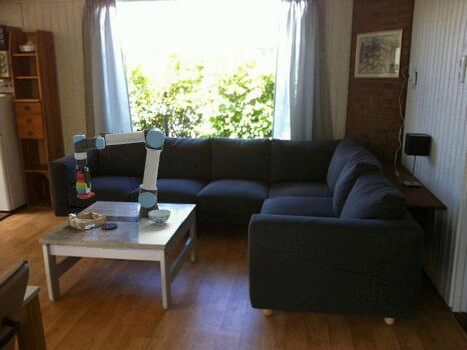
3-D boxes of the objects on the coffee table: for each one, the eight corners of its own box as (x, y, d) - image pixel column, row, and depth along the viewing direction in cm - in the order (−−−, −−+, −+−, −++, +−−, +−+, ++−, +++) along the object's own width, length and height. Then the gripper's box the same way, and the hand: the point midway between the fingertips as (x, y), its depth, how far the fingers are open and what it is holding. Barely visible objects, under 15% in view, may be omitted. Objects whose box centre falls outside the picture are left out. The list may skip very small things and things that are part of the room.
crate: (106, 223, 285) (106, 216, 284) (82, 231, 272) (81, 223, 271) (91, 218, 297) (91, 211, 296) (68, 225, 283) (67, 217, 282)
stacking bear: (87, 199, 274) (84, 172, 270) (73, 198, 276) (70, 172, 272) (95, 194, 284) (93, 169, 280) (82, 194, 286) (80, 168, 282)
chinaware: (174, 220, 290) (174, 210, 288) (165, 228, 276) (164, 216, 274) (154, 219, 294) (154, 208, 292) (145, 226, 280) (144, 215, 278)
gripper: (95, 159, 270) (98, 192, 275) (77, 155, 284) (80, 187, 289) (84, 161, 264) (88, 195, 269) (67, 157, 278) (70, 189, 283)
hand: (84, 191), depth 279 cm, fingers closed on stacking bear, 9 cm apart
